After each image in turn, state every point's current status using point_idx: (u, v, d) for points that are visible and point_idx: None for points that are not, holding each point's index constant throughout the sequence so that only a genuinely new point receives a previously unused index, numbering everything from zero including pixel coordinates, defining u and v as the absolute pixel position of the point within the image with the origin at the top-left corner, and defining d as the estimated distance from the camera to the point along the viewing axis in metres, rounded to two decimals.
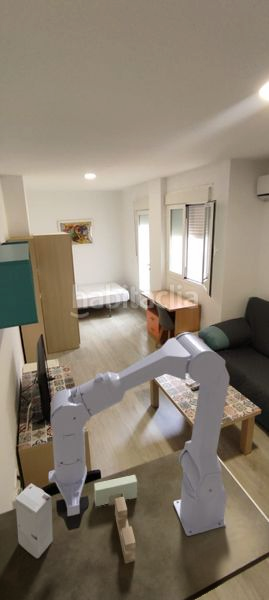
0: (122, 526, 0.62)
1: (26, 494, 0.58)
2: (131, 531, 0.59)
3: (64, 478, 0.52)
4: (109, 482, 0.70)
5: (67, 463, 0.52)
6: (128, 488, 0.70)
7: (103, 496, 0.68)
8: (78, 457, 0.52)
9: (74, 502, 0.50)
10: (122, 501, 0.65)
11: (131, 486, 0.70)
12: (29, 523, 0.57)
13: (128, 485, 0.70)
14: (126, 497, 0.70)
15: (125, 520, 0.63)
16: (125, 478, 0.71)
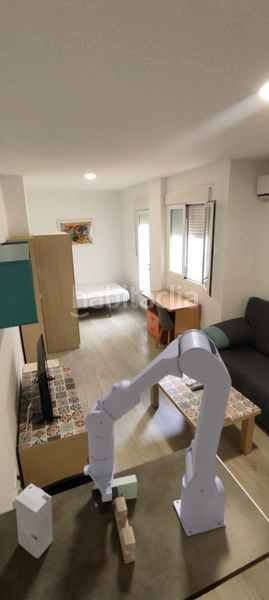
0: (122, 526, 0.62)
1: (26, 494, 0.58)
2: (131, 531, 0.59)
3: (97, 471, 0.64)
4: None
5: (96, 459, 0.63)
6: (128, 488, 0.70)
7: None
8: (105, 456, 0.63)
9: (107, 491, 0.61)
10: (122, 501, 0.65)
11: (131, 486, 0.70)
12: (29, 523, 0.57)
13: (128, 485, 0.70)
14: (126, 497, 0.70)
15: (125, 520, 0.63)
16: (125, 478, 0.71)
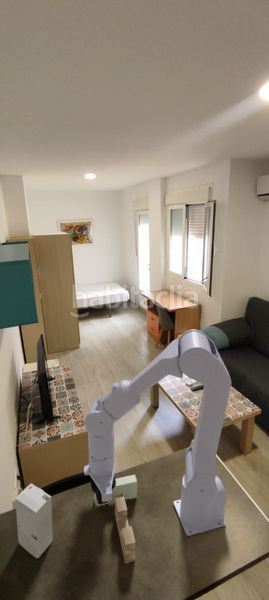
0: (122, 526, 0.62)
1: (26, 494, 0.58)
2: (131, 531, 0.59)
3: (97, 471, 0.64)
4: None
5: (96, 459, 0.63)
6: (128, 488, 0.70)
7: None
8: (105, 456, 0.63)
9: (107, 491, 0.61)
10: (122, 501, 0.65)
11: (131, 486, 0.70)
12: (29, 523, 0.57)
13: (128, 485, 0.70)
14: (126, 497, 0.70)
15: (125, 520, 0.63)
16: (125, 478, 0.71)
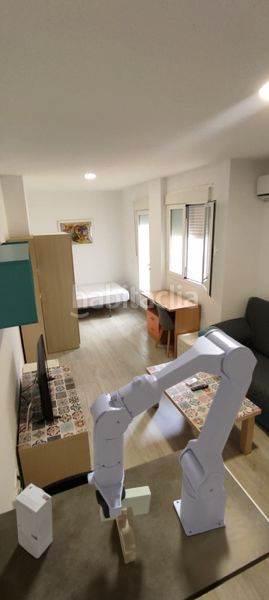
0: (122, 526, 0.62)
1: (26, 494, 0.58)
2: (131, 531, 0.59)
3: (104, 480, 0.54)
4: None
5: (109, 466, 0.53)
6: (140, 501, 0.60)
7: None
8: (119, 460, 0.54)
9: (116, 504, 0.51)
10: None
11: (144, 499, 0.60)
12: (29, 523, 0.57)
13: (140, 498, 0.60)
14: (136, 512, 0.60)
15: (125, 520, 0.63)
16: (137, 489, 0.61)
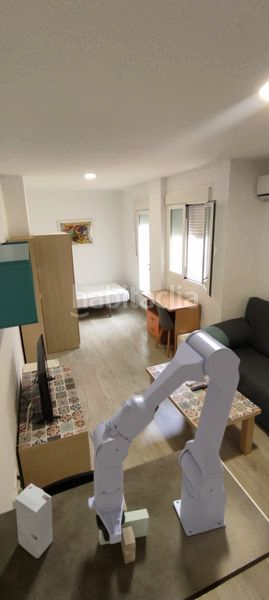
0: None
1: (26, 494, 0.58)
2: (131, 531, 0.59)
3: (104, 506, 0.55)
4: None
5: (109, 492, 0.55)
6: (138, 525, 0.61)
7: None
8: (119, 486, 0.55)
9: (116, 530, 0.53)
10: None
11: (142, 522, 0.61)
12: (29, 523, 0.57)
13: (139, 521, 0.61)
14: (134, 535, 0.62)
15: None
16: (135, 512, 0.62)
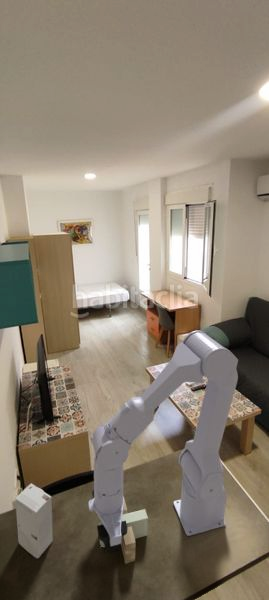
0: None
1: (26, 494, 0.58)
2: (131, 531, 0.59)
3: (104, 508, 0.56)
4: None
5: (109, 495, 0.55)
6: (137, 525, 0.61)
7: None
8: (119, 488, 0.55)
9: (116, 532, 0.53)
10: None
11: (141, 523, 0.61)
12: (29, 523, 0.57)
13: (138, 522, 0.61)
14: (135, 536, 0.62)
15: None
16: (134, 514, 0.62)
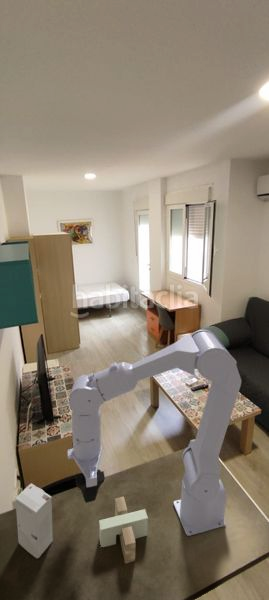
0: None
1: (27, 494, 0.58)
2: (131, 531, 0.59)
3: (82, 454, 0.58)
4: (116, 518, 0.61)
5: (82, 441, 0.57)
6: (137, 525, 0.61)
7: (109, 535, 0.60)
8: (92, 437, 0.58)
9: (92, 475, 0.56)
10: (122, 501, 0.65)
11: (141, 523, 0.61)
12: (29, 523, 0.57)
13: (138, 522, 0.61)
14: (135, 536, 0.62)
15: None
16: (134, 514, 0.62)
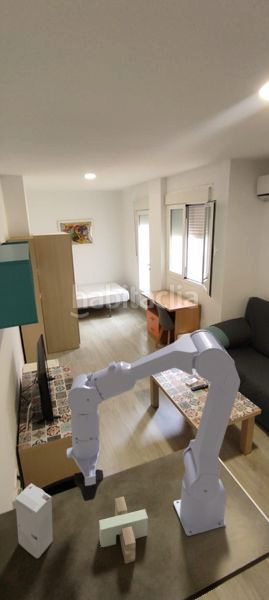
0: None
1: (27, 494, 0.58)
2: (131, 531, 0.59)
3: (81, 453, 0.59)
4: (116, 518, 0.61)
5: (81, 439, 0.58)
6: (137, 525, 0.61)
7: (109, 535, 0.60)
8: (91, 436, 0.58)
9: (91, 474, 0.56)
10: (122, 501, 0.65)
11: (141, 523, 0.61)
12: (29, 523, 0.57)
13: (138, 522, 0.61)
14: (135, 536, 0.62)
15: None
16: (134, 514, 0.62)
